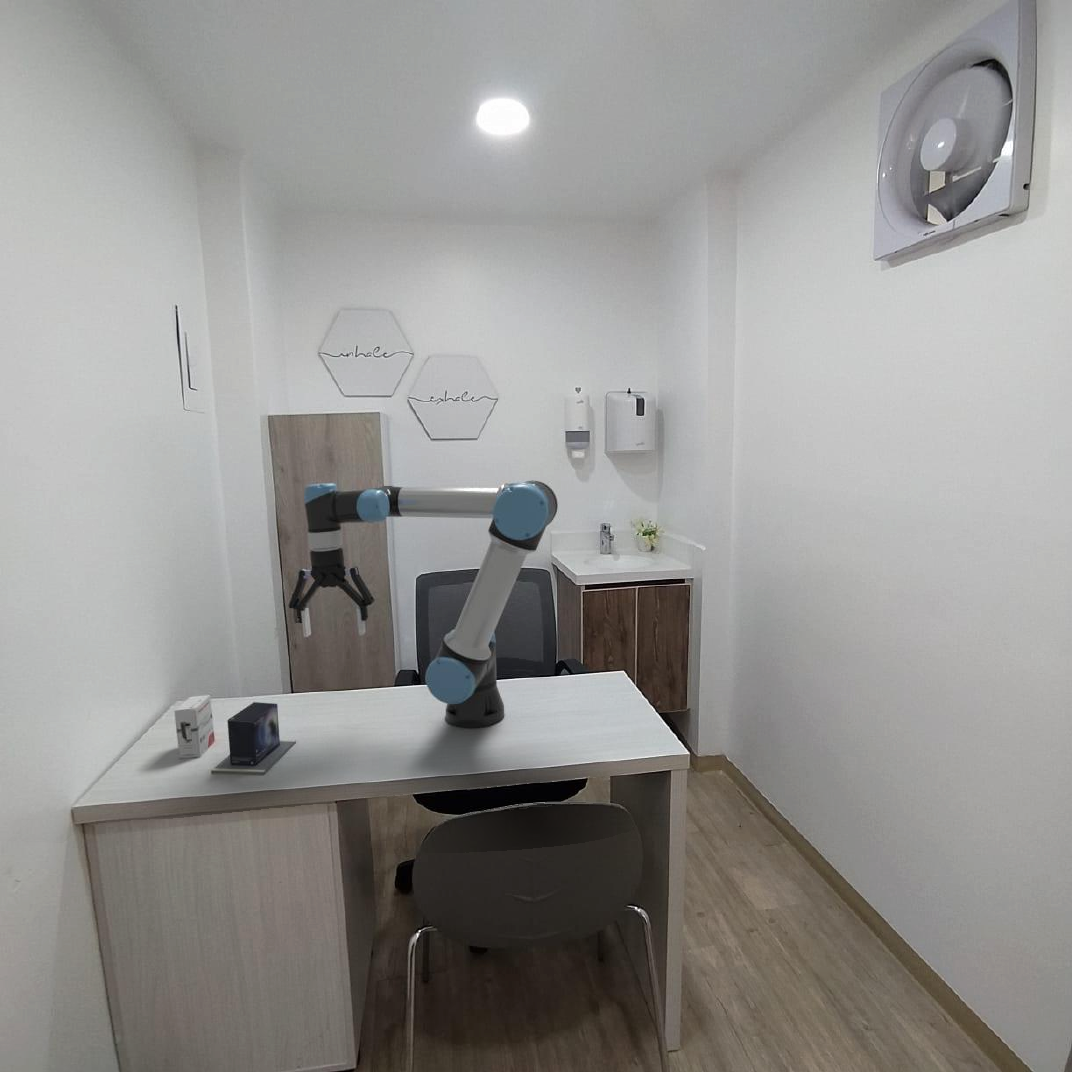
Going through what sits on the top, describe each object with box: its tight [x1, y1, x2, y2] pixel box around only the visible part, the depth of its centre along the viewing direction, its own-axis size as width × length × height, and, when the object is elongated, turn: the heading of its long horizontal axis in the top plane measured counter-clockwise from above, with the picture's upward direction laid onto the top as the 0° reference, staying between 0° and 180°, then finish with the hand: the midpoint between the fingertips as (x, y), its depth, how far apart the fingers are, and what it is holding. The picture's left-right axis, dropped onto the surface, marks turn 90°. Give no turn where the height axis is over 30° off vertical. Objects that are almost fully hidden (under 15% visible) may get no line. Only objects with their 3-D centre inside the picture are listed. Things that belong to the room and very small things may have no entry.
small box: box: [226, 701, 281, 766], centre depth 145 cm, size 11×6×10 cm, turn 172°
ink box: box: [173, 694, 216, 759], centre depth 150 cm, size 9×5×12 cm, turn 5°
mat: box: [210, 739, 297, 776], centre depth 146 cm, size 12×15×1 cm
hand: (334, 634), depth 156 cm, fingers open, 13 cm apart
